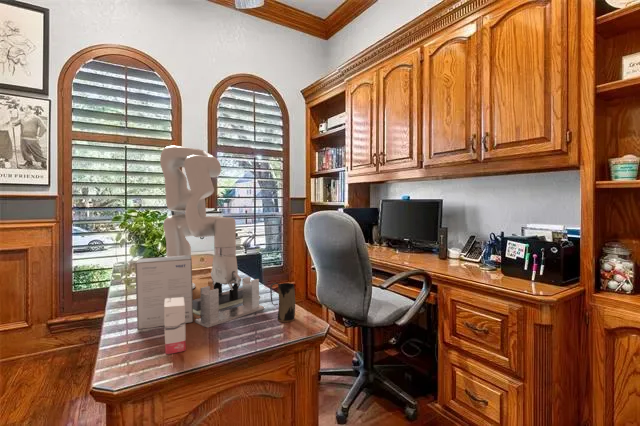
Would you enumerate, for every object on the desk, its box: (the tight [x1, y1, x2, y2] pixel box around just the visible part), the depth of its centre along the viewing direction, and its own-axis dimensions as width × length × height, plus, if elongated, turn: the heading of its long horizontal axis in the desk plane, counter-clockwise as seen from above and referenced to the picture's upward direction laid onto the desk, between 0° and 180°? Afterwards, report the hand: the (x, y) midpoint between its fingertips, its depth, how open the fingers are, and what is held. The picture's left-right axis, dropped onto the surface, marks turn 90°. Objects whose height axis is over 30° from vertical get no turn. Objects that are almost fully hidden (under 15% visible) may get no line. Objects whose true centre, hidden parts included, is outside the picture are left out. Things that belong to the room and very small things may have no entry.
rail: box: [193, 286, 243, 311], centre depth 120 cm, size 3×24×3 cm, turn 141°
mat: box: [193, 295, 261, 316], centre depth 120 cm, size 8×26×1 cm, turn 141°
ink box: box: [163, 297, 187, 355], centre depth 85 cm, size 9×5×12 cm, turn 24°
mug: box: [269, 282, 296, 323], centre depth 103 cm, size 8×6×12 cm
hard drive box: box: [134, 254, 194, 330], centre depth 101 cm, size 16×8×20 cm, turn 111°
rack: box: [194, 276, 265, 329], centre depth 107 cm, size 7×22×11 cm, turn 141°
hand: (225, 297), depth 120 cm, fingers open, 9 cm apart
